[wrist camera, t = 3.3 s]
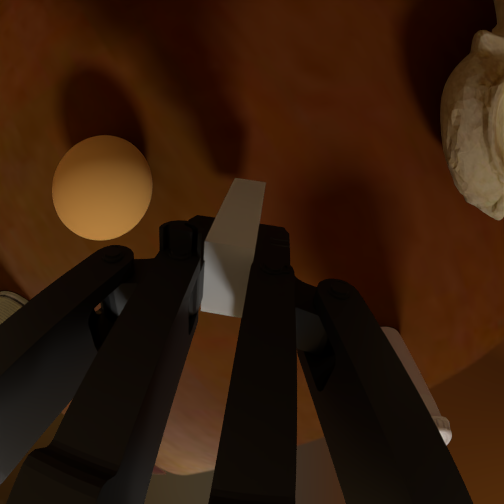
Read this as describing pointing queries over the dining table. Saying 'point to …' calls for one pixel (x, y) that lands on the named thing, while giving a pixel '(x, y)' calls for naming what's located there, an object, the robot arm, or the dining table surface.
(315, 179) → the dining table surface
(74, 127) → the dining table surface
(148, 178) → the ball
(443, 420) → the smoothie
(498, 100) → the oil lamp
